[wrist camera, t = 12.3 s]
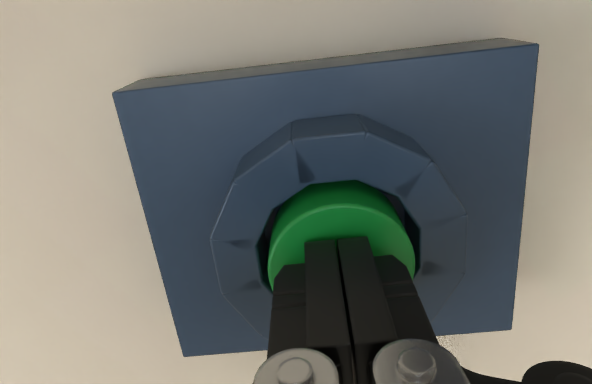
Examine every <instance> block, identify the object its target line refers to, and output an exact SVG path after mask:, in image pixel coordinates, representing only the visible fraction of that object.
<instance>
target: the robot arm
mask: <svg viewBox="0 0 592 384" xmlns="http://www.w3.org/2000/svg"><path fill="white" fill-rule="evenodd" d="M337 251H338V260H337V253H336V247H335V240H334V239H332V240H322V241H312V242H304V252H305V263H299V264H288V265H284V266H283V267H282V268H281V270H280V271H279V273H278V274H277V275H276V277H275V278H274V286H273V297H272V309H271V320H270V331H269V342H268V353H267V360H266V361H265V362H264V363H263V364H262V365H261V366H260V367H259V369H258V371H257V372H256V375H255V378H254V382H253V384H592V369H591V368H588V367H586V366H583V365H580V364H576V363H571V362H565V361H547V362H542V363H538V364H536V365H534V366H532V367H531V368H529V369H528V370H527V371H526V373H525V374H524V376H523V378H522V382H518V381H512V380H506V379H501V378H495V377H489V376H485V375H481V374H478V373H475V372H472V371H470V370H467V369H465V368H463V367H462V366H460V364H459V362H458V361H457V359H456V358H455V357H454V356H453V355H452V354H451V353H450V352H449V351H448V350H446V349H445V348H443V347H442V346H440V345H439V343H438V340H437V338H436V336H435V333H434V331H433V328H432V326H431V324H430V321H429V319H428V316H427V314H426V312H425V309H424V307H423V304H422V302H421V300H420V297H419V296H418V293H417V290H416V288H415V285H414V283H413V281H412V278H411V276H410V273H409V271H408V269H407V266H406V265H405V264H403V263H402V262H401V261H400V260H398V259H397V258H396V257H395V256H393V255H383V256H373V253H372V250H371V246H370V243H369V240H368V237H367V236H363V237H352V238H342V239H337ZM338 262H339V266H338Z"/></svg>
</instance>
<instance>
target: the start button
mask: <svg viewBox="0 0 592 384" xmlns="http://www.w3.org/2000/svg"><path fill="white" fill-rule="evenodd" d="M363 236H367V237H368V240H369V243H370V246H371V250H372V253H373V256H383V255H393V256H395V257H396V258H397V259H398V260H400V261H401V262H402V263H403V264H405V265H406V266H407V269H408V271H409V273H410V276H411V278H412V281H413V277H414V272H415V254H414V250H413V246H412V244H411V241H410V239H409V237H408V235H407V233H406V230H405V228H404V226H403V224H402V222H401V220H400V218H399V216H398V214H397V211H396V210H395V208H394V206H393V205H392V203H391V202H390V201H389V200H388V198H387V197H386V196H384V195H383V194H382V193H381V192H380V191H378V190H377V189H375V188H374V187H372V186H370V185H367V184H365V183H363V182H360V181H357V180H347V181H337V182H327V183H317V184H310V185H308V186H307V187H305V188H304V189H302V190H301V191H299V192H298V193H296V194H295V195H293V196H292V197H290V198H289V199H287V200H286V201H285V202H284V204H283V205H282V206H281V208H280V209H279V211H278V213H277V215H276V217H275V220H274V222H273V227H272V232H271V240H270V248H269V256H268V278H269V282H270V285H271V288H272V290H273V286H274V278H275V277H276V275H277V274H278V273H279V271H280V270H281V268H282V267H283V266H284V265H288V264H299V263H305V252H304V242H312V241H322V240H332V239H334V240H335V247H336V253H337V260H338V251H337V239H342V238H352V237H363ZM338 266H339V262H338Z"/></svg>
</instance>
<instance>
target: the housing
mask: <svg viewBox="0 0 592 384" xmlns="http://www.w3.org/2000/svg"><path fill="white" fill-rule="evenodd" d="M538 52H539V44H537V43H531V42H525V41H518V40H512V39H505V38H496V39H488V40H479V41H470V42H462V43H453V44H444V45H436V46H427V47H418V48H410V49H401V50H392V51H384V52H375V53H366V54H358V55H349V56H340V57H332V58H323V59H314V60H306V61H297V62H289V63H280V64H271V65H263V66H254V67H245V68H237V69H228V70H219V71H211V72H202V73H193V74H185V75H176V76H167V77H159V78H150V79H141V80H138V81H136V82H134V83H132V84H130V85H127V86H125V87H123V88H121V89H119V90H116V91H114V92H113V93H112V96H113V99H114V103H115V107H116V110H117V114H118V118H119V121H120V125H121V129H122V132H123V136H124V140H125V143H126V147H127V151H128V154H129V158H130V162H131V165H132V169H133V173H134V177H135V180H136V184H137V188H138V191H139V195H140V199H141V202H142V206H143V210H144V213H145V217H146V221H147V224H148V228H149V232H150V235H151V239H152V243H153V246H154V250H155V254H156V257H157V261H158V265H159V268H160V272H161V276H162V279H163V283H164V287H165V290H166V294H167V298H168V302H169V305H170V309H171V313H172V316H173V320H174V324H175V327H176V331H177V335H178V338H179V342H180V346H181V349H182V353H183V356H184V357H189V356H201V355H213V354H226V353H238V352H250V351H262V350H268V342H269V331H270V320H271V309H272V297H273V290H272V288H271V285H270V282H269V278H268V256H269V248H270V240H271V232H272V227H273V222H274V220H275V217H276V215H277V213H278V211H279V209H280V208H281V206H282V205H283V204H284V202H285V201H286V200H287V199H289V198H290V197H292V196H293V195H295V194H296V193H298V192H299V191H301V190H302V189H304V188H305V187H307V186H308V185H310V184H317V183H327V182H337V181H347V180H357V181H360V182H363V183H365V184H367V185H370V186H372V187H374V188H375V189H377V190H378V191H380V192H381V193H382V194H383V195H384V196H386V197H387V198H388V200H389V201H390V202H391V203H392V205H393V206H394V208H395V210H396V211H397V214H398V216H399V218H400V220H401V222H402V224H403V226H404V228H405V230H406V233H407V235H408V237H409V239H410V241H411V244H412V246H413V250H414V254H415V272H414V277H413V283H414V285H415V288H416V290H417V293H418V296H419V297H420V300H421V302H422V304H423V307H424V309H425V312H426V314H427V316H428V319H429V321H430V324H431V326H432V328H433V331H434V333H435V336H443V335H455V334H467V333H479V332H491V331H503V330H511V329H512V320H513V309H514V299H515V289H516V278H517V268H518V258H519V248H520V237H521V227H522V217H523V206H524V196H525V186H526V175H527V165H528V155H529V144H530V134H531V124H532V114H533V103H534V93H535V83H536V72H537V62H538Z"/></svg>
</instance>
